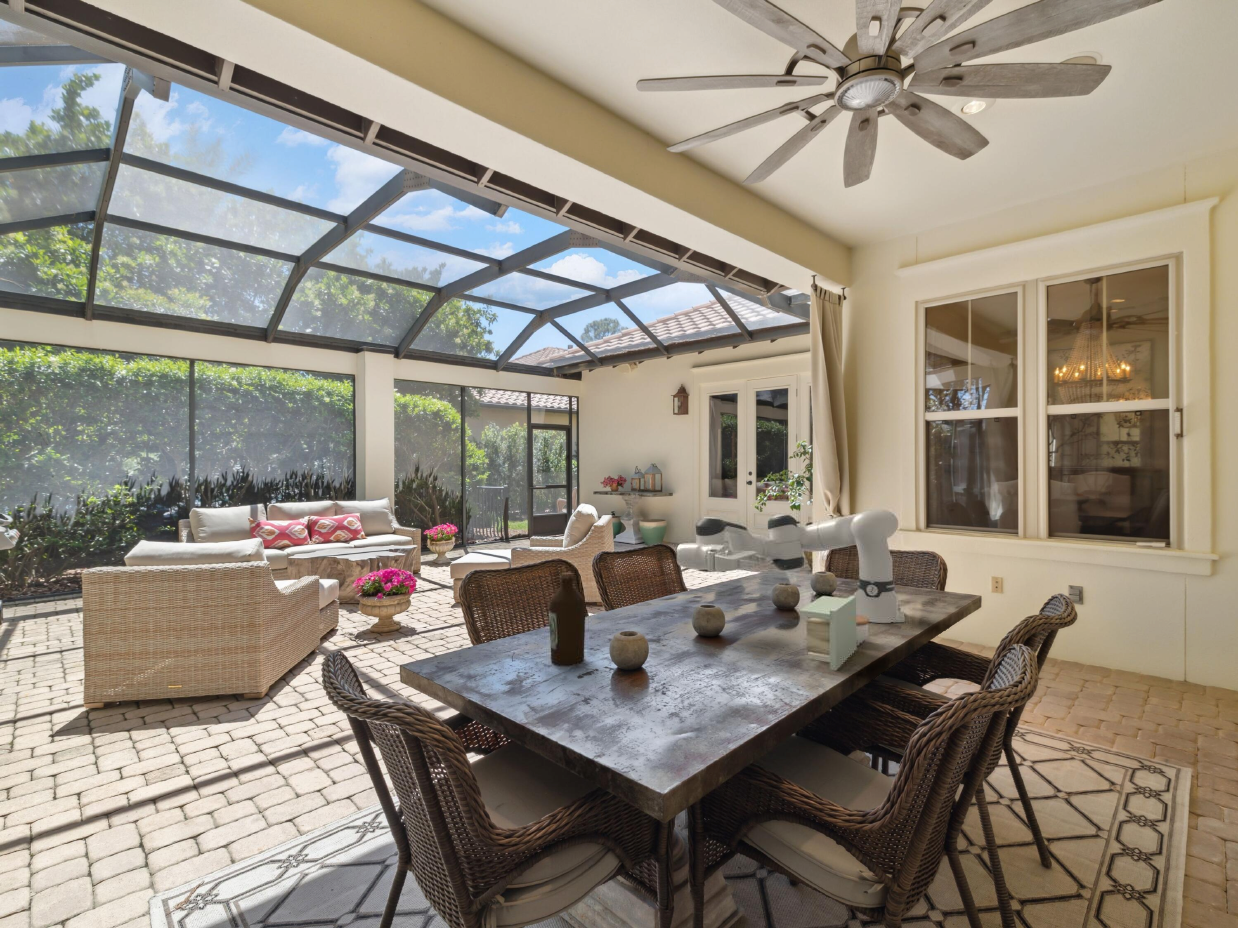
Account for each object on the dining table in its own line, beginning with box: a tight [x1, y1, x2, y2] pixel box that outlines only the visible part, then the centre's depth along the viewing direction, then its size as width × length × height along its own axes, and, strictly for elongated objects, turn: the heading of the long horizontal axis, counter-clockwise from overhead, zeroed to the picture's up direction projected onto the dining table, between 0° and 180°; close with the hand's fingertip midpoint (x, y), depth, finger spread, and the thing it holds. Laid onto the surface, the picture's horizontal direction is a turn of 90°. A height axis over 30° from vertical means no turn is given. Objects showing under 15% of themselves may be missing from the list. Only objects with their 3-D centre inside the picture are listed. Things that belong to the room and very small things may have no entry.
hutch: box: [798, 595, 858, 671], centre depth 172 cm, size 22×10×16 cm, turn 145°
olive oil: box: [548, 571, 587, 667], centre depth 170 cm, size 11×11×25 cm
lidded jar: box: [856, 615, 870, 646], centre depth 185 cm, size 11×11×9 cm
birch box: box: [806, 617, 830, 655], centre depth 173 cm, size 4×8×10 cm, turn 55°
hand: (760, 562), depth 187 cm, fingers open, 8 cm apart
